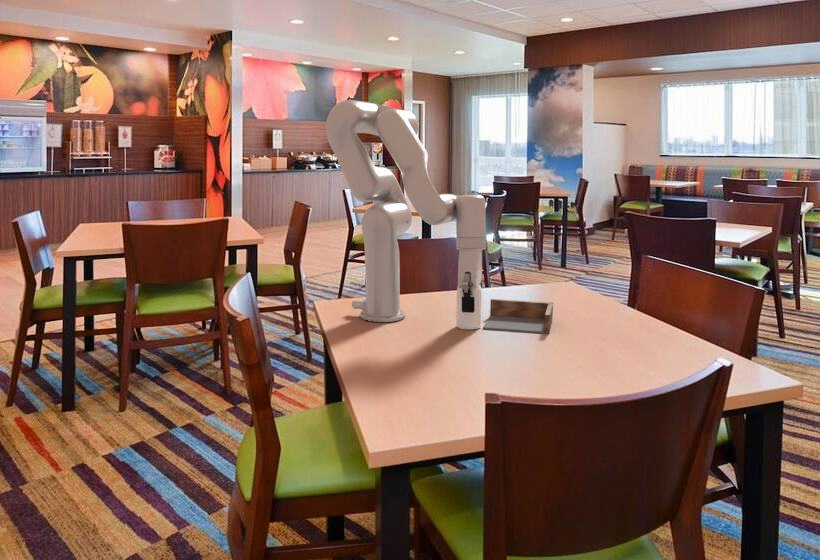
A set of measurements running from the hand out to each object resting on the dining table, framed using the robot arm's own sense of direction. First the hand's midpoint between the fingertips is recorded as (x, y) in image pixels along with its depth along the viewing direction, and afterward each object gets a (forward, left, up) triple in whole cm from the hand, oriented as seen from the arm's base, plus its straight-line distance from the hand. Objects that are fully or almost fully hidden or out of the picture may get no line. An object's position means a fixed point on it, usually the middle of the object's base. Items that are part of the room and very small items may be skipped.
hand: (471, 307), depth 175 cm
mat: (+12, +6, -5) cm, 14 cm away
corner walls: (+12, +6, -5) cm, 14 cm away
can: (-1, 0, -6) cm, 6 cm away
